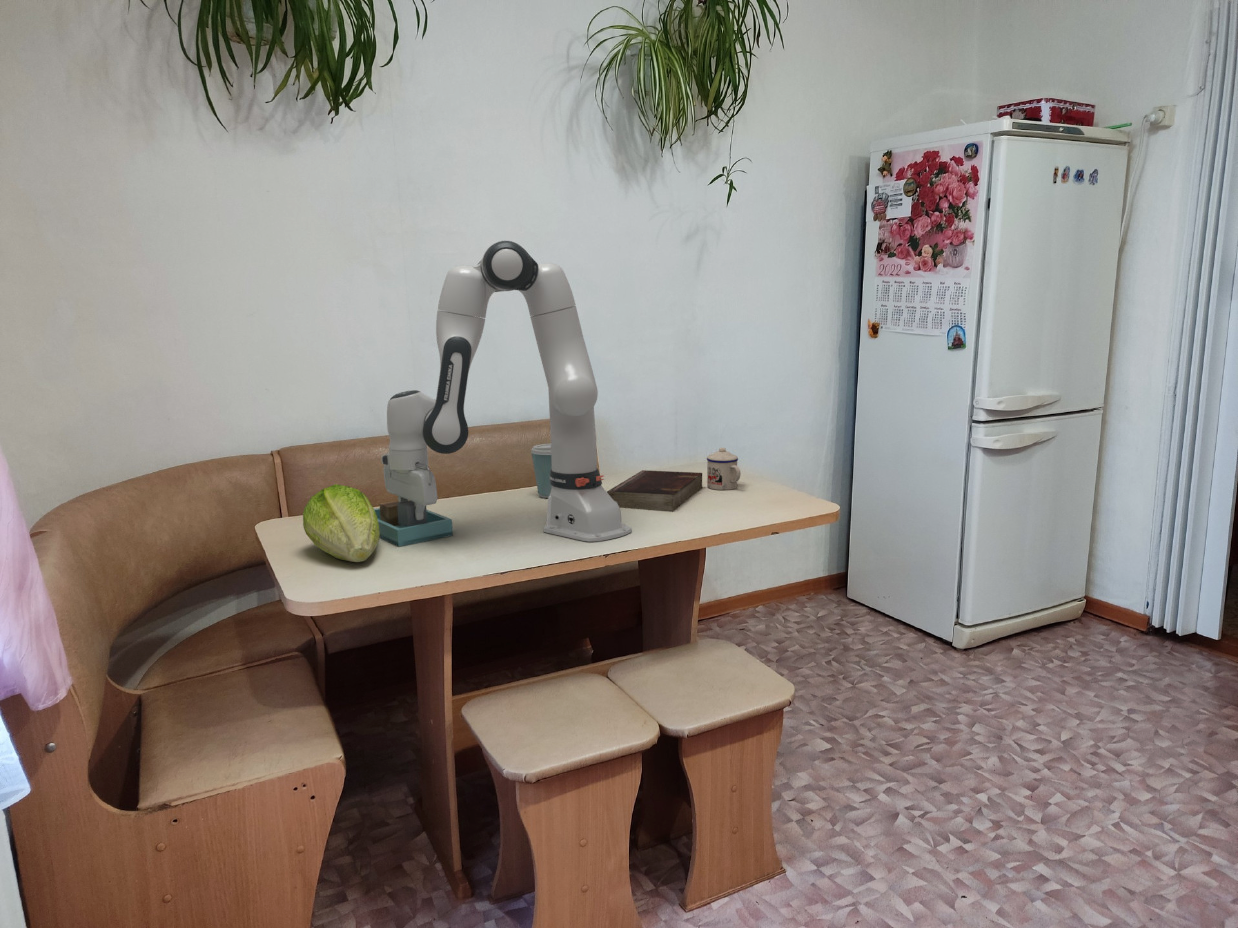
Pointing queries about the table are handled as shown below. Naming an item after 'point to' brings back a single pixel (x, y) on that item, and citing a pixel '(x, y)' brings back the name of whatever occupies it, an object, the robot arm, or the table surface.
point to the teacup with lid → (722, 470)
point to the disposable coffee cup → (542, 468)
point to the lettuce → (342, 523)
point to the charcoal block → (409, 514)
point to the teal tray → (415, 530)
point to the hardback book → (656, 490)
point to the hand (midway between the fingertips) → (412, 516)
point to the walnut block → (389, 512)
